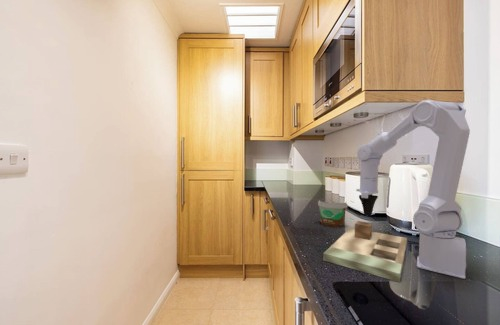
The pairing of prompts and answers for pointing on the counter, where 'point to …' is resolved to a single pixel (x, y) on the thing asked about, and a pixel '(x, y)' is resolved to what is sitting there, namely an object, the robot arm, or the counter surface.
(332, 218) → the food container
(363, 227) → the block
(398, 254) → the board
